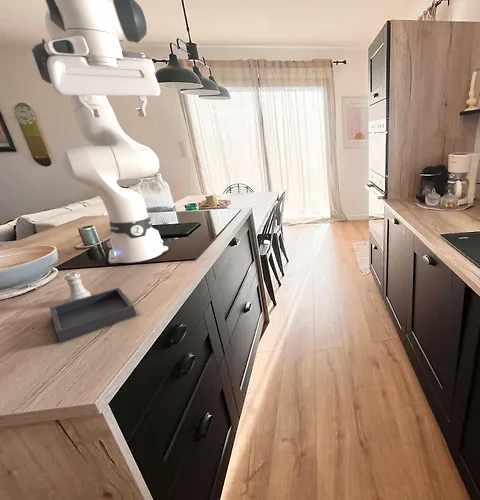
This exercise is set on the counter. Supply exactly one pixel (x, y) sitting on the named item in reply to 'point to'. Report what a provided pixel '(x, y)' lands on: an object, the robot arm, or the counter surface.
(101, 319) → the tray
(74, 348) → the counter surface
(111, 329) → the counter surface
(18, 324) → the counter surface
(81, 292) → the rook chess piece
